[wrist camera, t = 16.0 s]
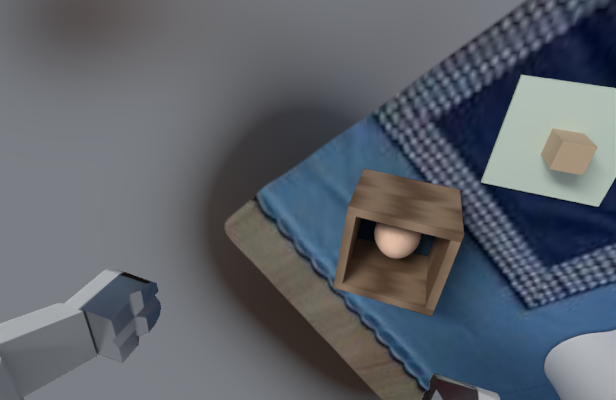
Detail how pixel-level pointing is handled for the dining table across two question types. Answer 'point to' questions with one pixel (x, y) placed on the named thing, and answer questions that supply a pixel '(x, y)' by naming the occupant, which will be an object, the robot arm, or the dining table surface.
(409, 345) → the dining table surface
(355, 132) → the dining table surface
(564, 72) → the dining table surface
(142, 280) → the robot arm
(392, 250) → the egg
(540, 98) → the lid
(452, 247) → the box
